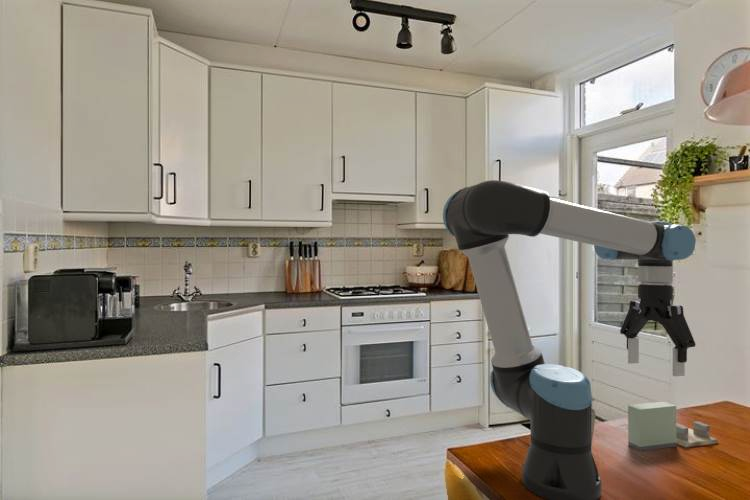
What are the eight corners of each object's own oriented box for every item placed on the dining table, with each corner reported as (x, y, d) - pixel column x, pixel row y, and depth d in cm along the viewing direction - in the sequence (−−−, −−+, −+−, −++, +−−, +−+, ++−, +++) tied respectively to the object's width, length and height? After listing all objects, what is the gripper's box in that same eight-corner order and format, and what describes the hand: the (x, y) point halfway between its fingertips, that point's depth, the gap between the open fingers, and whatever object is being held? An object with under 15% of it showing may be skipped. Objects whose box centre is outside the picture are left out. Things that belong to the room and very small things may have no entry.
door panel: (676, 446, 118) (676, 405, 118) (639, 451, 115) (639, 409, 115) (664, 440, 121) (663, 401, 121) (628, 445, 118) (628, 405, 118)
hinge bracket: (685, 447, 117) (685, 431, 117) (634, 424, 132) (634, 410, 132) (717, 443, 119) (717, 427, 119) (663, 421, 135) (663, 407, 135)
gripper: (714, 286, 108) (713, 380, 107) (628, 281, 132) (628, 358, 132) (687, 287, 106) (687, 382, 106) (606, 281, 130) (605, 359, 130)
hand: (654, 369), depth 119 cm, fingers open, 13 cm apart
